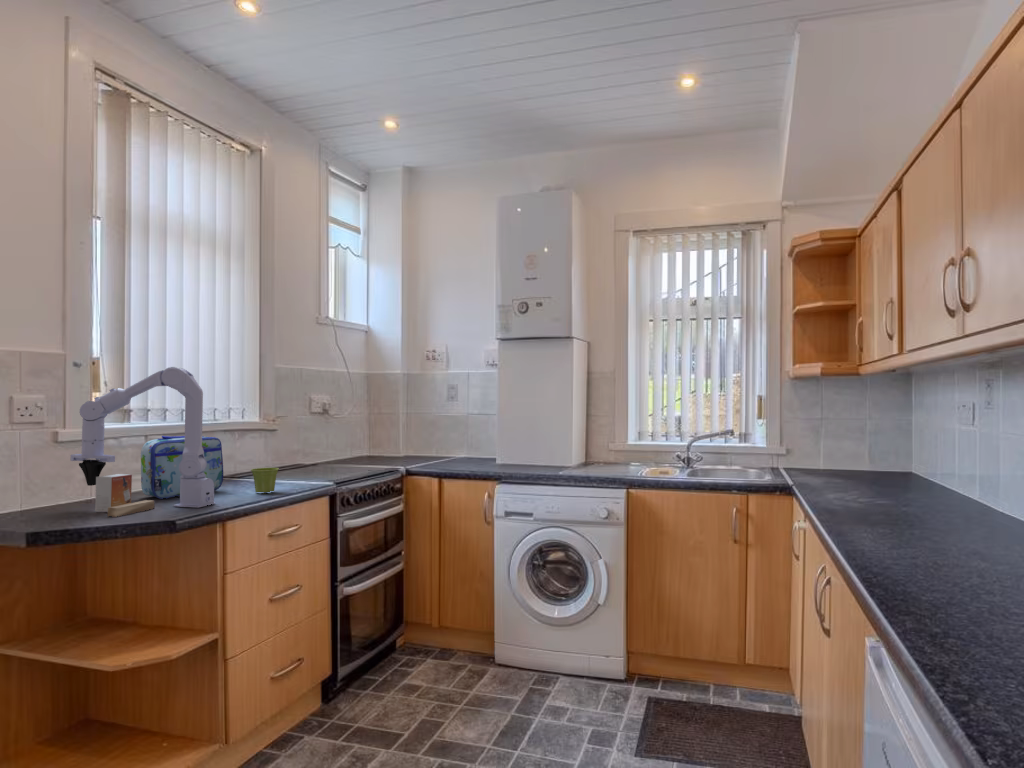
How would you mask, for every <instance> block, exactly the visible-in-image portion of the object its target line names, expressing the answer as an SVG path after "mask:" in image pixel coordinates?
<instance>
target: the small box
mask: <svg viewBox="0 0 1024 768" xmlns="http://www.w3.org/2000/svg"><path fill="white" fill-rule="evenodd" d="M132 476H133V474H130V473H129V474H126V473H116V474H110V475H109V474H108V475H102V476H99V477H96V485H95V499H94V501H95V502H94V503H95V504H94V505H95V506H94V507H95V508H94V509H95V510H94V512H96V513H108V508H109V507H114V506H119V505H124V504H129V503H132V486H133V485H132V483H133V481H132V480H133V477H132Z"/></svg>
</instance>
